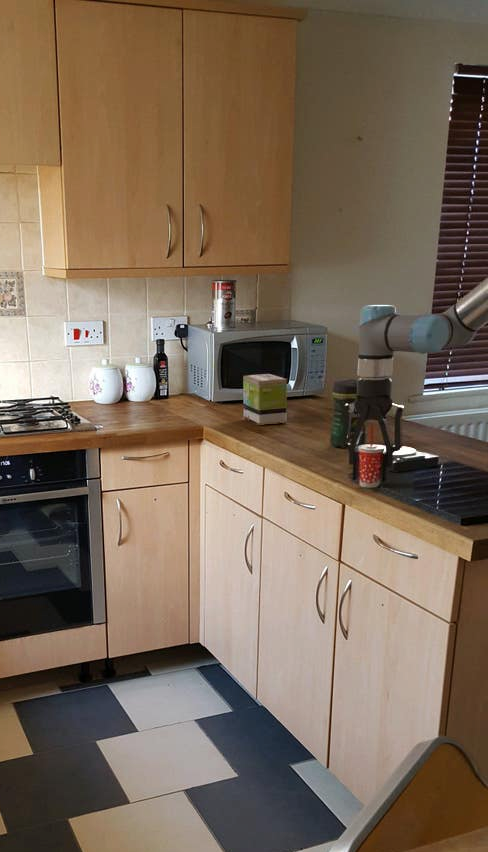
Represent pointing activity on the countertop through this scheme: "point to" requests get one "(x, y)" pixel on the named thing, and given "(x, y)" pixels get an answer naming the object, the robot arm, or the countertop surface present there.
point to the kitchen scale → (411, 460)
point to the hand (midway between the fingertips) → (369, 479)
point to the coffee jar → (343, 395)
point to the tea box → (265, 398)
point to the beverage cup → (370, 463)
